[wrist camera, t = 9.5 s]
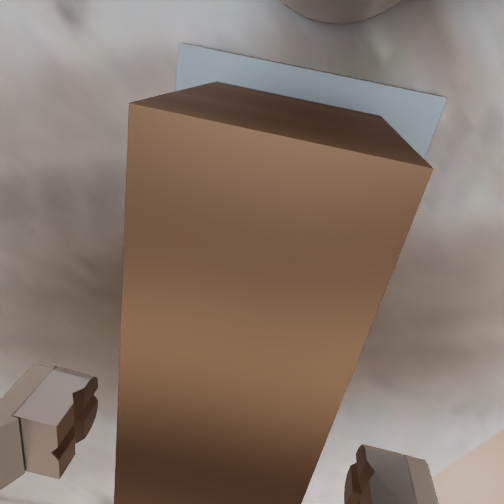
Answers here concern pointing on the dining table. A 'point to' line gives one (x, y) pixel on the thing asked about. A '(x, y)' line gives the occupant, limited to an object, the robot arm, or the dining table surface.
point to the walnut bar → (249, 286)
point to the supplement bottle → (339, 9)
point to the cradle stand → (315, 89)
